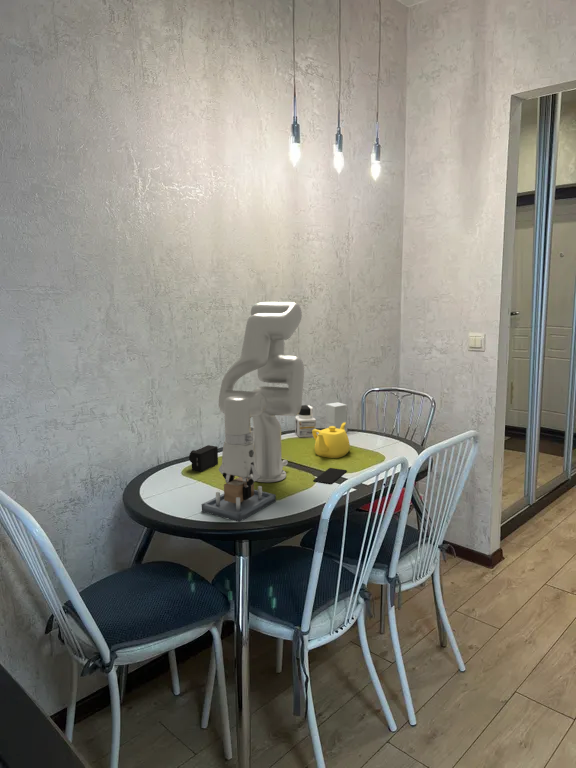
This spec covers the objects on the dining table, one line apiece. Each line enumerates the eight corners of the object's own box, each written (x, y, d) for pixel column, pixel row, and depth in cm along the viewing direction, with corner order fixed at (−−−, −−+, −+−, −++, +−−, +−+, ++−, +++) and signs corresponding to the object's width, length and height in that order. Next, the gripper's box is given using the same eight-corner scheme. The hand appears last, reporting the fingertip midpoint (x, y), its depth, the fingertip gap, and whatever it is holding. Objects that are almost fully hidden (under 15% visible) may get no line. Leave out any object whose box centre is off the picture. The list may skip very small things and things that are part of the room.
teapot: (325, 443, 234) (325, 418, 232) (359, 448, 226) (359, 422, 224) (297, 456, 216) (297, 429, 214) (332, 463, 208) (332, 435, 206)
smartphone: (312, 480, 189) (329, 467, 202) (312, 482, 189) (329, 469, 202) (331, 483, 186) (347, 470, 199) (331, 485, 186) (347, 472, 199)
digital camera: (206, 462, 210) (205, 444, 209) (218, 464, 208) (217, 446, 207) (189, 470, 201) (188, 451, 200) (201, 472, 199) (200, 453, 198)
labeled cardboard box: (240, 492, 172) (240, 476, 171) (254, 495, 170) (253, 479, 169) (224, 500, 166) (223, 484, 165) (237, 503, 163) (237, 487, 162)
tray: (239, 492, 179) (239, 476, 178) (275, 501, 172) (275, 485, 171) (201, 511, 164) (201, 494, 163) (239, 522, 157) (238, 504, 156)
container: (298, 437, 243) (298, 408, 241) (295, 433, 251) (294, 404, 249) (316, 436, 245) (316, 407, 243) (311, 432, 252) (311, 403, 250)
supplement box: (347, 432, 251) (348, 404, 249) (334, 434, 248) (334, 406, 246) (338, 428, 258) (338, 401, 256) (325, 430, 254) (325, 403, 252)
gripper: (269, 439, 163) (269, 498, 166) (223, 431, 172) (225, 487, 175) (253, 445, 157) (254, 506, 160) (207, 436, 166) (209, 495, 169)
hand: (239, 496), depth 168 cm, fingers closed on labeled cardboard box, 5 cm apart
